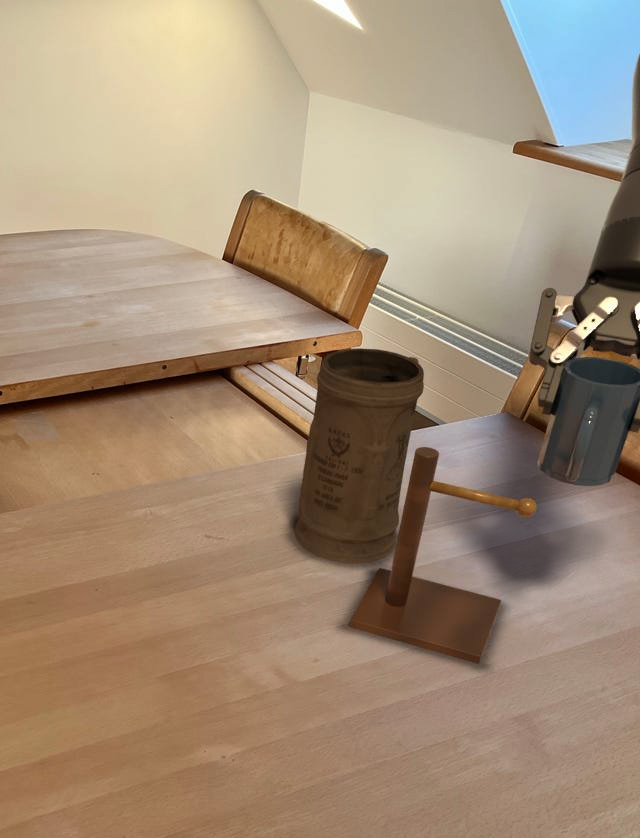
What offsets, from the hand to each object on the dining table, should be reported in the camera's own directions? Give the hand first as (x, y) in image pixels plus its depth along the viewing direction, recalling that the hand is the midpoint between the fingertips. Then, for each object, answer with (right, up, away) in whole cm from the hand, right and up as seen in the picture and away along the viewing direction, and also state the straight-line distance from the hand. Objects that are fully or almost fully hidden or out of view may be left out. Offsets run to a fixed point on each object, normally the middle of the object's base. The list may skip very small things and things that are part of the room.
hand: (590, 419), depth 81 cm
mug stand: (-11, -17, +11) cm, 23 cm away
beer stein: (-15, -7, +24) cm, 29 cm away
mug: (0, -4, +3) cm, 5 cm away
